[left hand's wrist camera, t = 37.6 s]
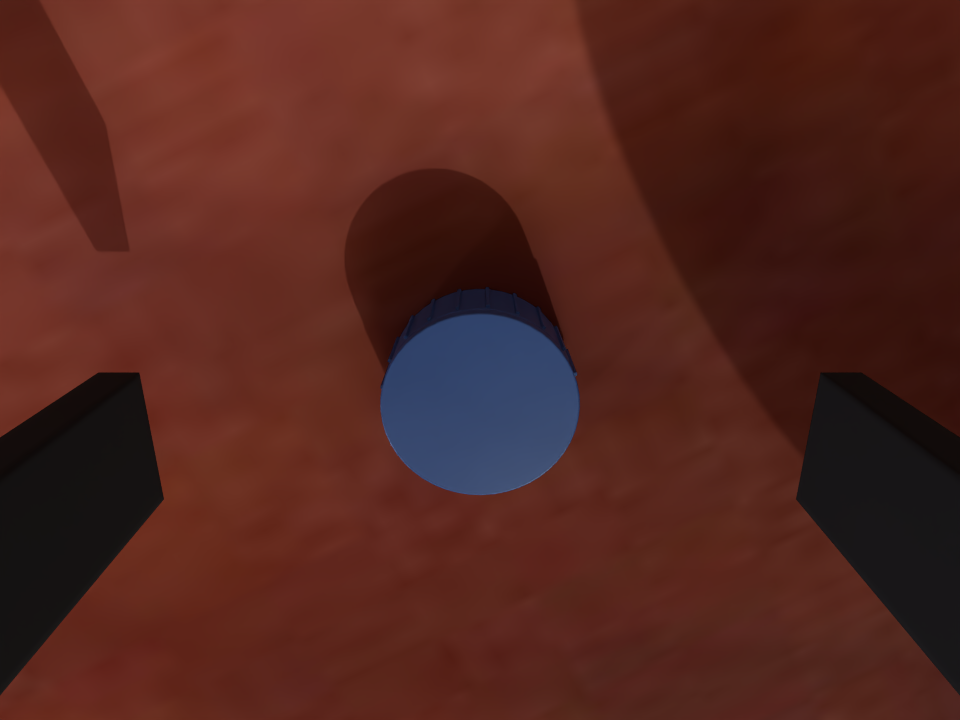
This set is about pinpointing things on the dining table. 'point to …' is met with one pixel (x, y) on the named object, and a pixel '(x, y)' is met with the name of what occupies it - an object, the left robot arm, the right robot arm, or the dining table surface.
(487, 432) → the cap
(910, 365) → the dining table surface
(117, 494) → the left robot arm
